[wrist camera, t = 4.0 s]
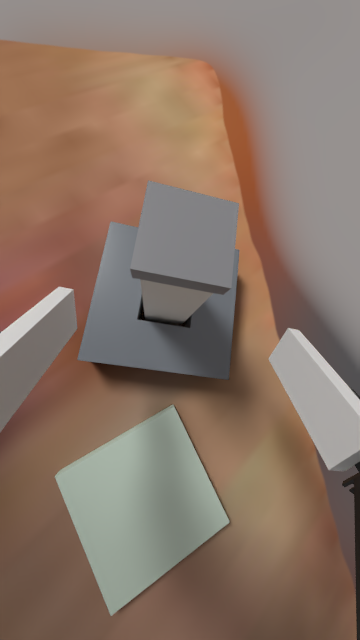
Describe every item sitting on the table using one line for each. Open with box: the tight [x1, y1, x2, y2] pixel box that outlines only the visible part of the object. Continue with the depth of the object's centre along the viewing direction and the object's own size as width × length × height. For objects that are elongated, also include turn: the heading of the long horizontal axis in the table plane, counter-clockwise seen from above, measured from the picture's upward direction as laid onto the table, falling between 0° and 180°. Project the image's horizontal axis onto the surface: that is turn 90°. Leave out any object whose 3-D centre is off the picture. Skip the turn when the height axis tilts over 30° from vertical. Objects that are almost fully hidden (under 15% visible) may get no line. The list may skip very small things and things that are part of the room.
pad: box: [55, 405, 229, 616], centre depth 18 cm, size 12×12×1 cm
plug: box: [130, 181, 239, 326], centre depth 16 cm, size 5×5×14 cm
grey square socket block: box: [77, 222, 239, 380], centre depth 21 cm, size 14×14×4 cm
